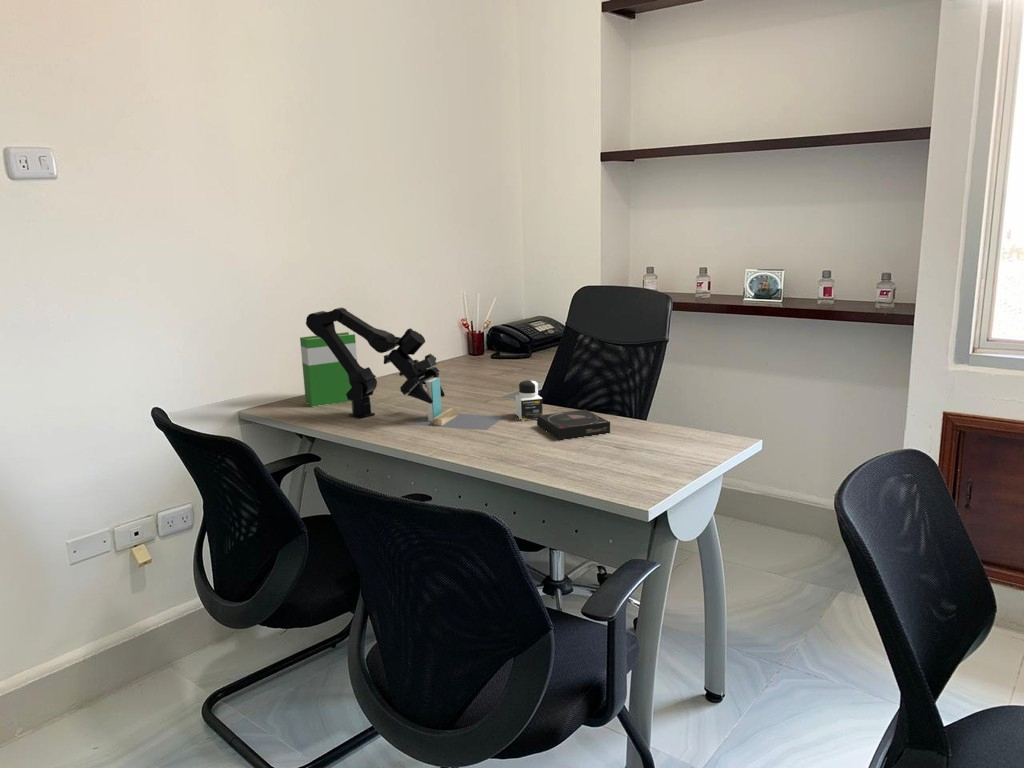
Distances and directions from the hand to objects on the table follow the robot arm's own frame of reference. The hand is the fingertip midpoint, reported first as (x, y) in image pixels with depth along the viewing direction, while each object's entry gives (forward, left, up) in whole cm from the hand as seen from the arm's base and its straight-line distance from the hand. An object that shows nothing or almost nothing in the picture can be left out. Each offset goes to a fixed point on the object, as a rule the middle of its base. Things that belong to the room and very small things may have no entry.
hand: (438, 399), depth 247 cm
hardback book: (-51, -7, -7) cm, 52 cm away
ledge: (+2, +1, -7) cm, 7 cm away
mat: (+6, +3, -7) cm, 10 cm away
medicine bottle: (+20, +21, -7) cm, 30 cm away
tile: (-1, -1, 0) cm, 1 cm away
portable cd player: (+40, +19, -8) cm, 45 cm away
